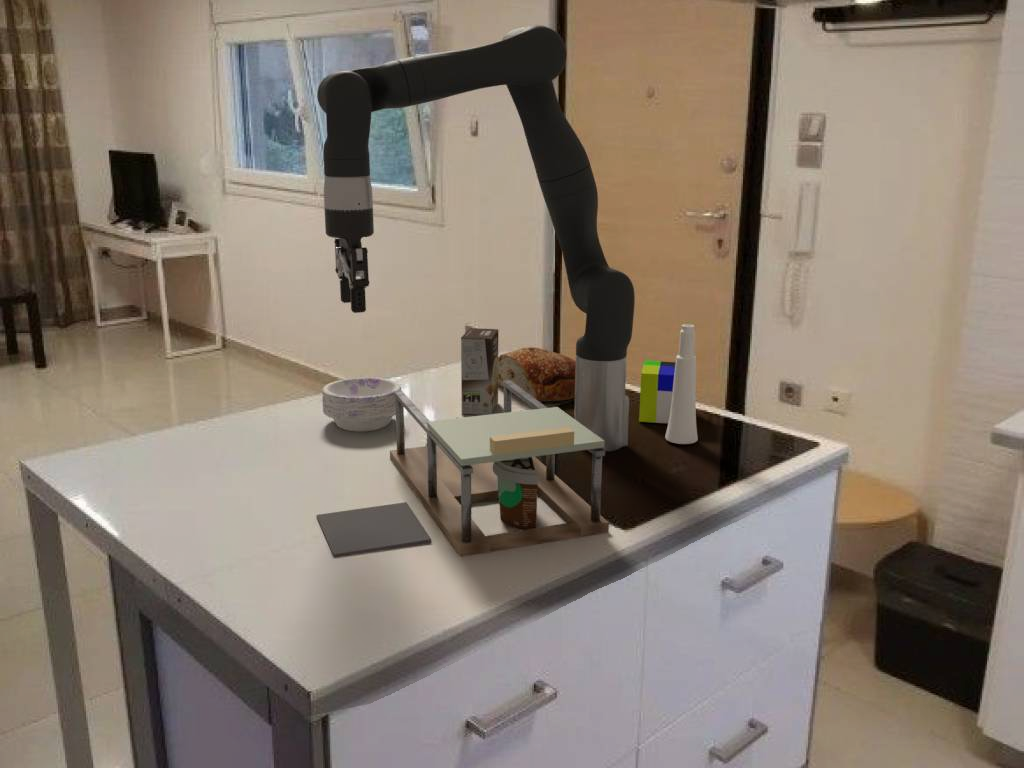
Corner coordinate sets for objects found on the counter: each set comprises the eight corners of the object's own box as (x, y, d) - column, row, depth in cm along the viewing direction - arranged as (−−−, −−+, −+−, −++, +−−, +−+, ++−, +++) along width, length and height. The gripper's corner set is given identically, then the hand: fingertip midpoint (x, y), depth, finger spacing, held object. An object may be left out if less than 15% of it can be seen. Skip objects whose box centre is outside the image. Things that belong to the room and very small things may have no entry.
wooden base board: (511, 443, 175) (511, 435, 175) (608, 531, 139) (608, 522, 138) (390, 458, 167) (389, 450, 167) (459, 556, 131) (459, 546, 130)
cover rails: (509, 437, 173) (509, 379, 170) (602, 522, 139) (605, 450, 135) (395, 451, 166) (393, 391, 163) (464, 544, 131) (463, 469, 128)
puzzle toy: (689, 425, 186) (692, 376, 183) (639, 421, 188) (641, 373, 185) (690, 409, 195) (693, 363, 193) (642, 406, 197) (644, 360, 195)
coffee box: (492, 416, 191) (492, 339, 186) (460, 414, 191) (460, 337, 187) (498, 402, 199) (499, 328, 195) (469, 401, 200) (468, 327, 196)
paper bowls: (383, 408, 195) (382, 371, 193) (415, 429, 182) (414, 390, 180) (312, 420, 187) (310, 382, 185) (340, 443, 175) (338, 402, 173)
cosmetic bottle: (704, 440, 177) (712, 326, 171) (681, 446, 174) (688, 330, 168) (681, 431, 182) (688, 320, 176) (658, 437, 179) (664, 324, 172)
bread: (490, 383, 213) (490, 341, 211) (562, 375, 220) (563, 333, 218) (527, 409, 195) (527, 363, 193) (604, 399, 202) (606, 354, 199)
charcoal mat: (406, 505, 148) (406, 502, 147) (431, 542, 135) (431, 539, 135) (316, 518, 143) (316, 514, 143) (333, 558, 130) (333, 554, 130)
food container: (490, 502, 149) (489, 442, 146) (528, 501, 150) (529, 441, 147) (495, 536, 137) (495, 472, 134) (537, 535, 138) (538, 471, 135)
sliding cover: (557, 412, 151) (557, 394, 150) (604, 447, 136) (604, 427, 135) (427, 427, 144) (426, 409, 143) (461, 466, 128) (461, 445, 128)
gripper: (382, 209, 142) (386, 314, 147) (362, 200, 155) (366, 297, 160) (333, 210, 140) (338, 317, 145) (316, 202, 153) (322, 300, 157)
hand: (353, 307), depth 152 cm, fingers open, 8 cm apart
